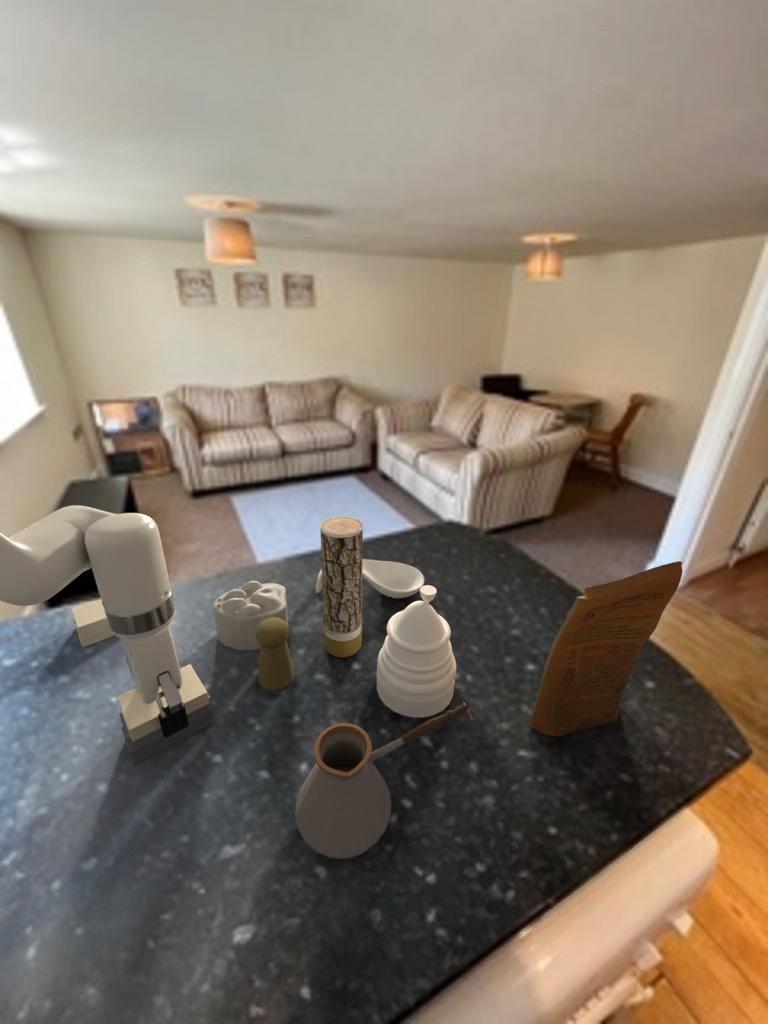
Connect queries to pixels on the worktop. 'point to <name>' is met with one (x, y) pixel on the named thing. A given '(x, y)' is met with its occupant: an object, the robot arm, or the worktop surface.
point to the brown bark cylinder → (342, 584)
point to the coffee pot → (350, 789)
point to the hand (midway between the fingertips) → (165, 708)
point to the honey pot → (417, 660)
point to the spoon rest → (388, 578)
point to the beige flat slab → (145, 716)
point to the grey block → (159, 742)
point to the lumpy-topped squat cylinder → (248, 613)
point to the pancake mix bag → (600, 650)
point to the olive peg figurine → (274, 654)
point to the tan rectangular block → (91, 623)
